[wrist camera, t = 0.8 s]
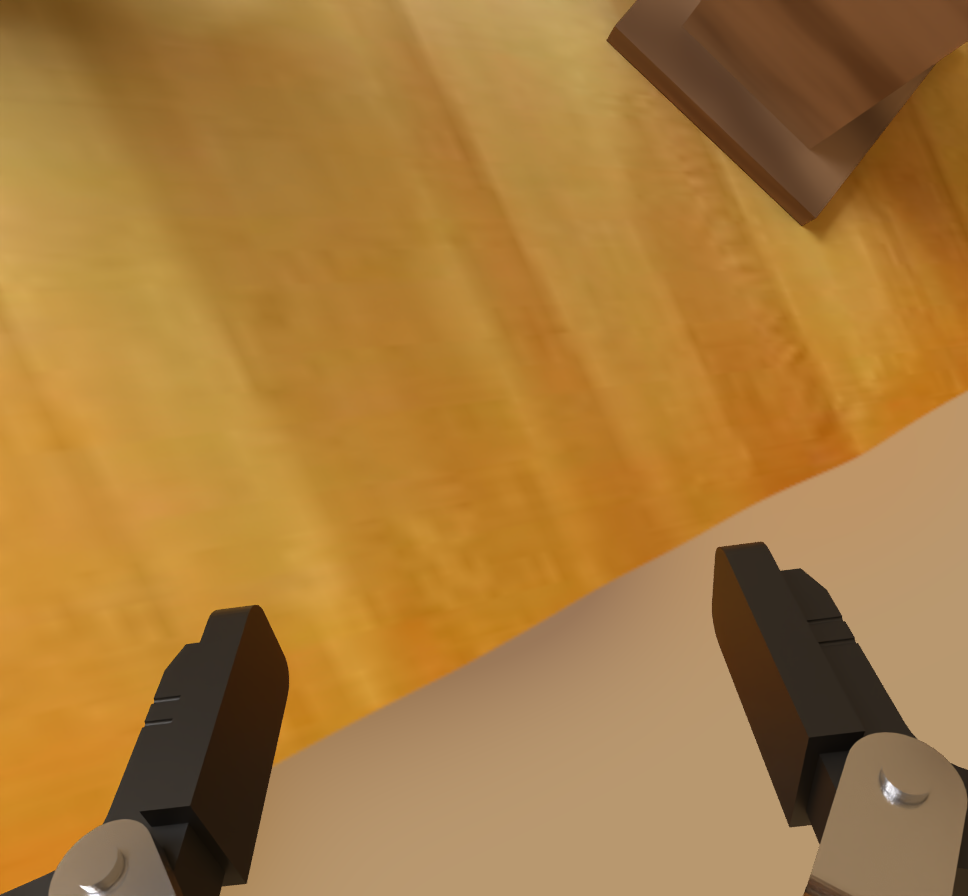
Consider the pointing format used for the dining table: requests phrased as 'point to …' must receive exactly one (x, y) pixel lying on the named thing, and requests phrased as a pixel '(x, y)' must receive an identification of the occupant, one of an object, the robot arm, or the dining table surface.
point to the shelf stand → (791, 78)
